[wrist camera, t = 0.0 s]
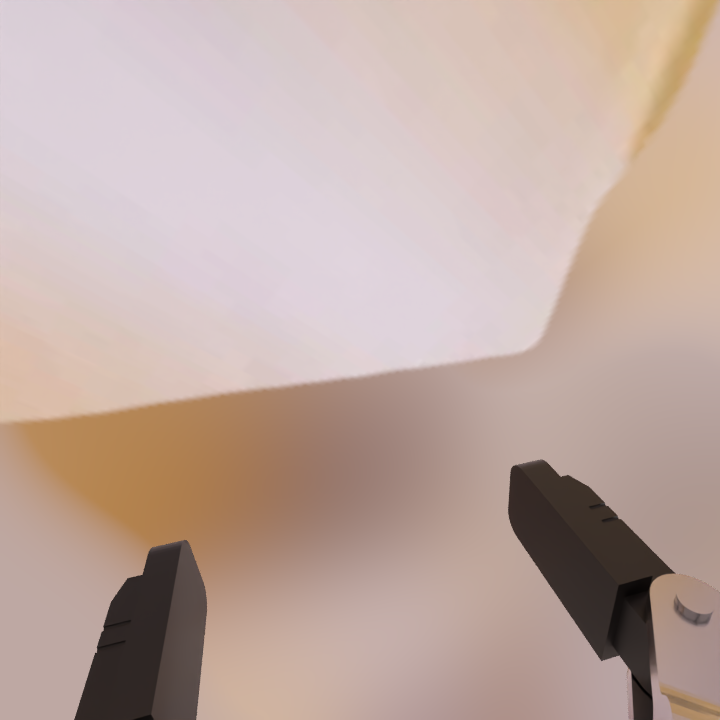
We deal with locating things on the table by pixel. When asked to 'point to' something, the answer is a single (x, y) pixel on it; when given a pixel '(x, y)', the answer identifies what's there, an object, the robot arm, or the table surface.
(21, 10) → the table surface
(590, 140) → the table surface
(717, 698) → the robot arm
